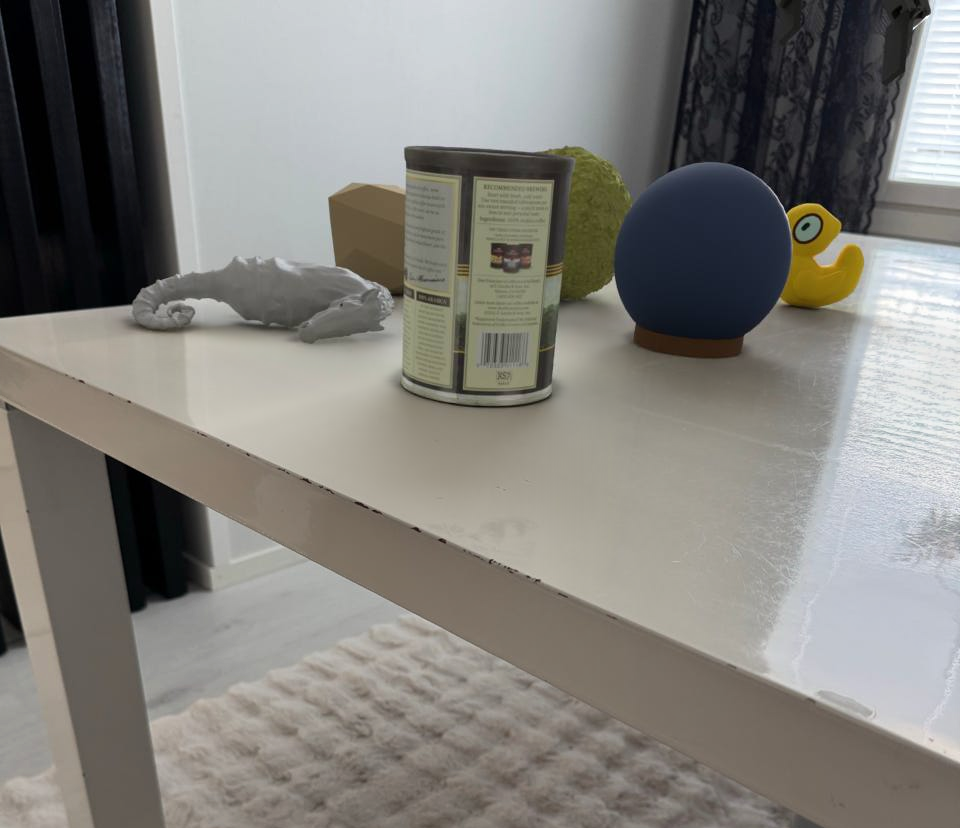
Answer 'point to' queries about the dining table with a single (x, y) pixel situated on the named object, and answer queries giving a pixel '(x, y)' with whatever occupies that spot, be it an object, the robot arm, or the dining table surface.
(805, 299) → the duckling
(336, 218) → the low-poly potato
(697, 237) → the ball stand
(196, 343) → the dining table surface
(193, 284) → the seahorse
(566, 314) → the dining table surface
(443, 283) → the coffee can
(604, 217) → the fruit
